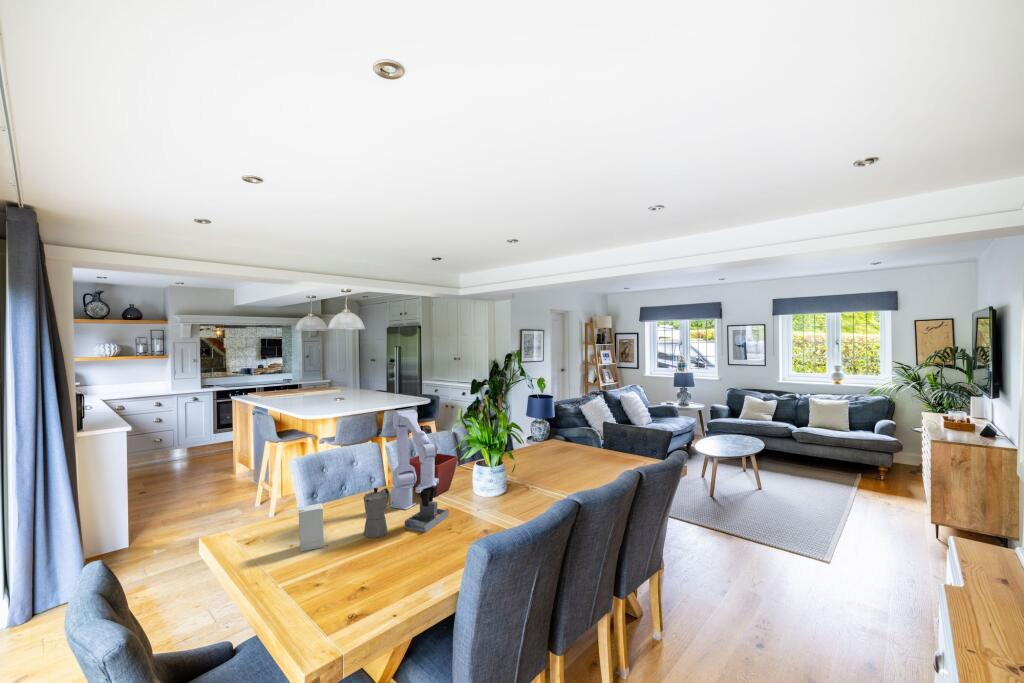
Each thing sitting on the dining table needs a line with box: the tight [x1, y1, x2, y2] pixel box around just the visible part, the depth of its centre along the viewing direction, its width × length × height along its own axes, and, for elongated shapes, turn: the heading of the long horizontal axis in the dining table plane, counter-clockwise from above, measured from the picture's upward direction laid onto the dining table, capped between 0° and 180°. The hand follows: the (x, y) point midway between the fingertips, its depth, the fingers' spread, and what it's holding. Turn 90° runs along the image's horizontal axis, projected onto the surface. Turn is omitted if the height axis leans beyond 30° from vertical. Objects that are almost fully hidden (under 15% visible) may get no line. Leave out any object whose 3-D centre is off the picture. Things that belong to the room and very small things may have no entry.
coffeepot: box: [363, 487, 390, 539], centre depth 183 cm, size 15×9×18 cm, turn 162°
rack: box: [404, 508, 450, 534], centre depth 193 cm, size 10×18×4 cm, turn 158°
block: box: [419, 499, 438, 518], centre depth 193 cm, size 7×2×6 cm, turn 68°
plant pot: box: [409, 452, 458, 498], centre depth 232 cm, size 19×19×17 cm
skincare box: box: [298, 503, 325, 552], centre depth 170 cm, size 8×6×15 cm
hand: (427, 504), depth 193 cm, fingers closed on block, 2 cm apart
